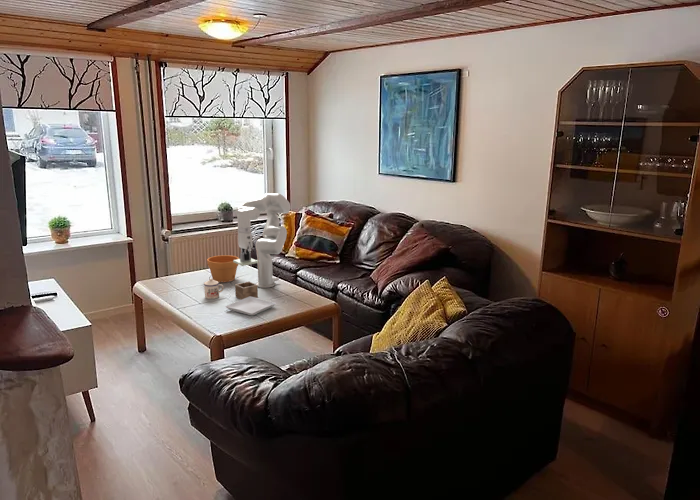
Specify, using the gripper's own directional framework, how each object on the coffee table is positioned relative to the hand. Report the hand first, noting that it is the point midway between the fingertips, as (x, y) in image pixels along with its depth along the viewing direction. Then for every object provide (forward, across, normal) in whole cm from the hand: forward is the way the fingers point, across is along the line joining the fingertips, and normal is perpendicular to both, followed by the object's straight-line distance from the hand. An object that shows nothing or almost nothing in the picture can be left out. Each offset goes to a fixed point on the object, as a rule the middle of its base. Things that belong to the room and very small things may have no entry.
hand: (245, 259), depth 331 cm
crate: (+24, 0, 0) cm, 24 cm away
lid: (+2, 0, 0) cm, 2 cm away
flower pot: (+25, +42, -6) cm, 49 cm away
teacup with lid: (+24, +13, +16) cm, 32 cm away
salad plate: (+25, -21, +10) cm, 34 cm away
